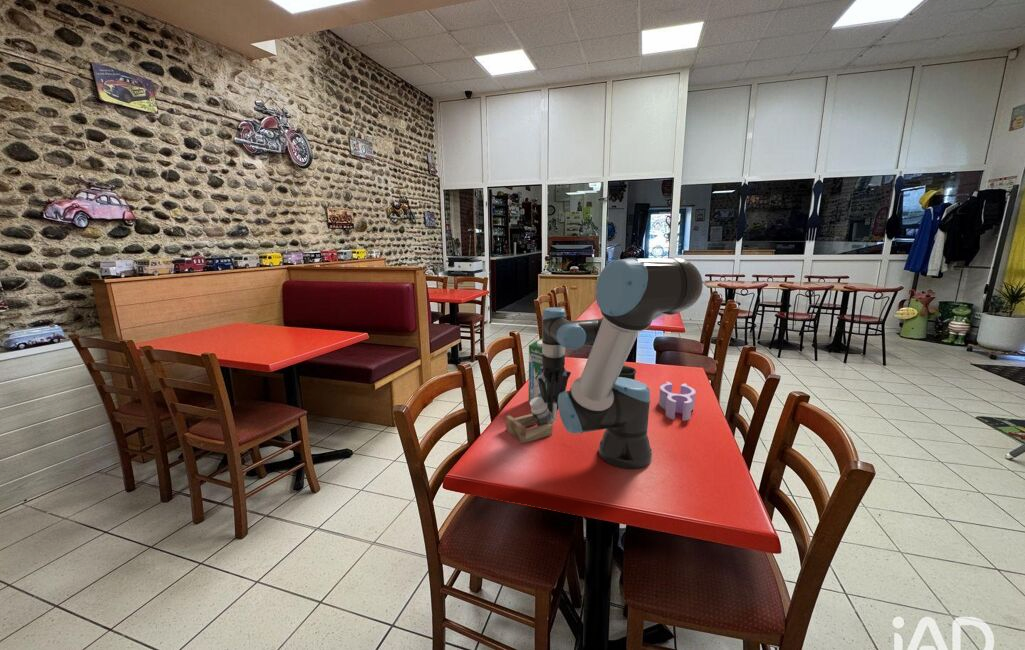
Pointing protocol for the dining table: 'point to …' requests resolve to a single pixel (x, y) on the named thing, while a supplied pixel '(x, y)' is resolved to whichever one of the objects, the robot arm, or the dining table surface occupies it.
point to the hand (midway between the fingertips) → (552, 419)
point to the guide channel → (521, 434)
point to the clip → (677, 400)
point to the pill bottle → (540, 412)
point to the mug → (627, 372)
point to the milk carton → (535, 369)
